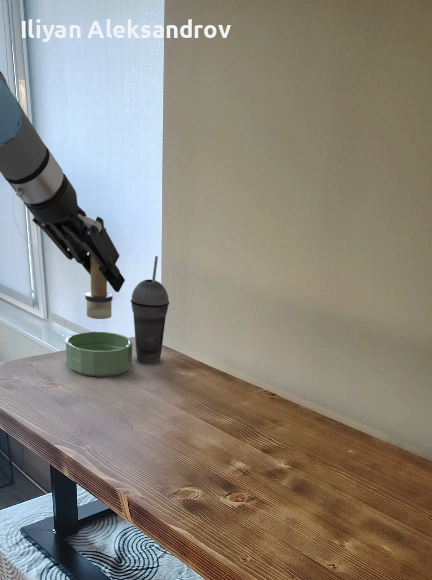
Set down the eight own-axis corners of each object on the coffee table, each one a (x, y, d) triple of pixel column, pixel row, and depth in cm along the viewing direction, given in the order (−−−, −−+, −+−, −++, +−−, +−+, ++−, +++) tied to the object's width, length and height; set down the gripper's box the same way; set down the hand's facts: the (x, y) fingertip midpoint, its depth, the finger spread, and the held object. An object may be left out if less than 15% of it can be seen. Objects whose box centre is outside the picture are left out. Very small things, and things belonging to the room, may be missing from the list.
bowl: (56, 372, 114) (55, 346, 112) (81, 353, 124) (80, 328, 122) (119, 381, 113) (119, 355, 110) (139, 361, 123) (139, 336, 121)
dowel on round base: (81, 317, 112) (79, 228, 104) (91, 311, 116) (89, 224, 109) (107, 320, 111) (106, 231, 104) (116, 314, 115) (116, 227, 108)
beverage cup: (144, 352, 128) (146, 249, 118) (174, 360, 125) (178, 256, 115) (122, 360, 123) (122, 254, 113) (152, 369, 120) (155, 260, 110)
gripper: (-8, 200, 96) (69, 293, 117) (72, 214, 89) (139, 309, 110) (15, 161, 97) (87, 260, 118) (96, 172, 91) (157, 274, 112)
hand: (112, 283), depth 114 cm, fingers closed on dowel on round base, 3 cm apart
